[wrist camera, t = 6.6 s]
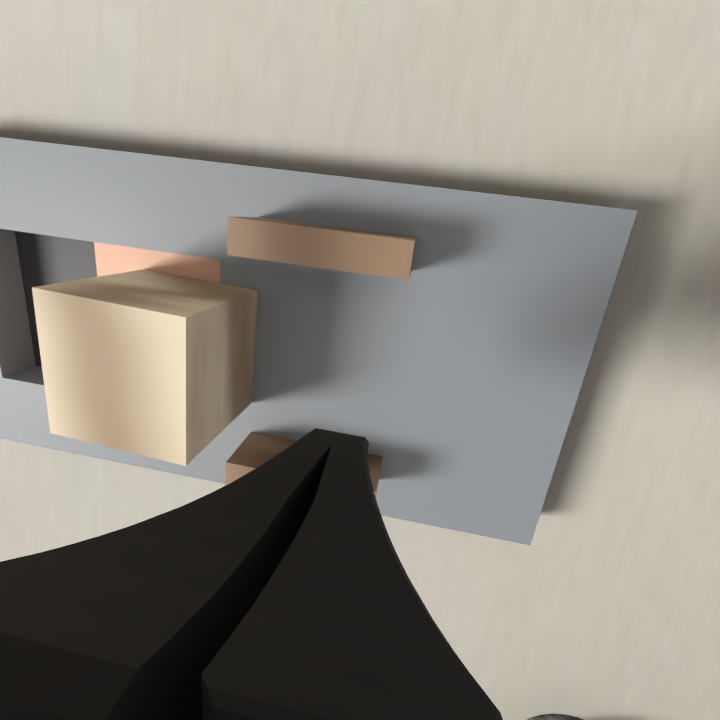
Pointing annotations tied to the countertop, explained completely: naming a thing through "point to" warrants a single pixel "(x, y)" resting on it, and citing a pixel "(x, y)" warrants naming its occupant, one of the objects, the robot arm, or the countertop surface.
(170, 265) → the tile
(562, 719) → the salt shaker
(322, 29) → the countertop surface
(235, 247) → the channel walls
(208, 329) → the block
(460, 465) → the deck
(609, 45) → the countertop surface
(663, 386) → the countertop surface
